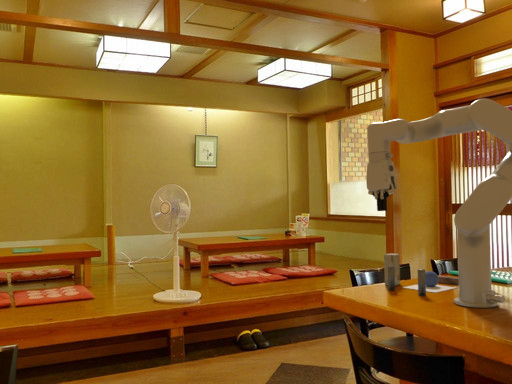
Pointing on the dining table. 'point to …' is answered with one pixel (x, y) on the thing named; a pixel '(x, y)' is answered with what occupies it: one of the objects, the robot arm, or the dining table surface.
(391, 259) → the skincare box
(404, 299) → the dining table surface
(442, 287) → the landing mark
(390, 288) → the far post
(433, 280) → the ball
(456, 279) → the strip
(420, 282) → the near post
